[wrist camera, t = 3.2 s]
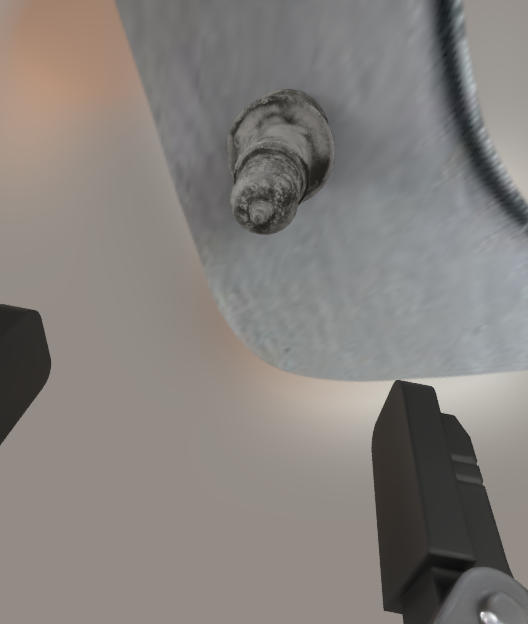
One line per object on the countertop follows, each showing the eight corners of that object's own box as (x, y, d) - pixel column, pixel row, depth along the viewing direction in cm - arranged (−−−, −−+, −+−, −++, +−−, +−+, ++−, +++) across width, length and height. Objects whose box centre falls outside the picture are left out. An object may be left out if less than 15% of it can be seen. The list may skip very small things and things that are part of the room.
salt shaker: (228, 92, 25) (163, 154, 16) (330, 75, 24) (328, 131, 14) (247, 189, 29) (203, 290, 19) (337, 179, 27) (339, 280, 18)
